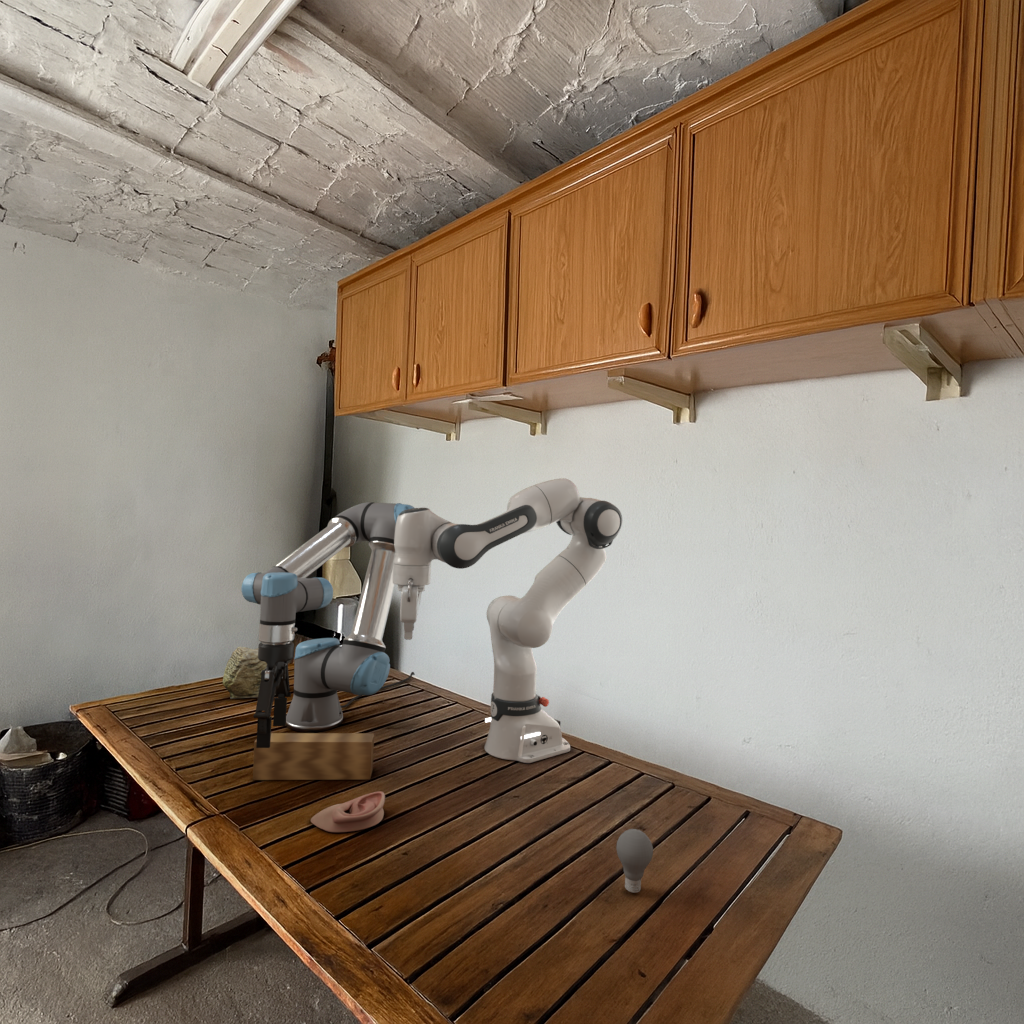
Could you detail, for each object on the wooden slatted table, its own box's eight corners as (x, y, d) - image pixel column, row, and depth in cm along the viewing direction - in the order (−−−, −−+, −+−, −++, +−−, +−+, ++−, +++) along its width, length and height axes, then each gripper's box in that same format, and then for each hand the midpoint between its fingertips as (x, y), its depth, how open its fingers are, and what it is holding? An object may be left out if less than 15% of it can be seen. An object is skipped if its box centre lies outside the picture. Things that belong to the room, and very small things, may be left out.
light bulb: (610, 879, 108) (613, 822, 108) (644, 879, 109) (647, 822, 109) (619, 902, 102) (622, 840, 102) (655, 901, 103) (658, 840, 103)
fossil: (218, 695, 195) (220, 647, 195) (278, 685, 208) (279, 640, 207) (228, 703, 189) (230, 653, 188) (289, 692, 201) (290, 645, 201)
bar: (252, 780, 140) (254, 741, 140) (259, 770, 145) (261, 732, 145) (370, 779, 143) (371, 741, 143) (372, 769, 148) (374, 733, 148)
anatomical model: (303, 807, 121) (332, 781, 132) (302, 827, 121) (331, 800, 132) (368, 817, 118) (392, 790, 129) (367, 838, 118) (391, 809, 129)
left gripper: (279, 654, 130) (274, 757, 130) (305, 631, 155) (301, 717, 155) (241, 653, 130) (236, 757, 130) (273, 630, 154) (269, 717, 154)
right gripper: (424, 582, 139) (421, 645, 140) (426, 571, 160) (423, 626, 160) (394, 581, 139) (392, 644, 139) (400, 570, 159) (398, 625, 159)
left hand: (271, 736), depth 142 cm, fingers open, 13 cm apart
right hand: (409, 634), depth 150 cm, fingers open, 8 cm apart
